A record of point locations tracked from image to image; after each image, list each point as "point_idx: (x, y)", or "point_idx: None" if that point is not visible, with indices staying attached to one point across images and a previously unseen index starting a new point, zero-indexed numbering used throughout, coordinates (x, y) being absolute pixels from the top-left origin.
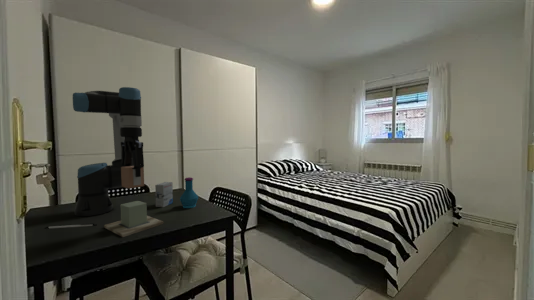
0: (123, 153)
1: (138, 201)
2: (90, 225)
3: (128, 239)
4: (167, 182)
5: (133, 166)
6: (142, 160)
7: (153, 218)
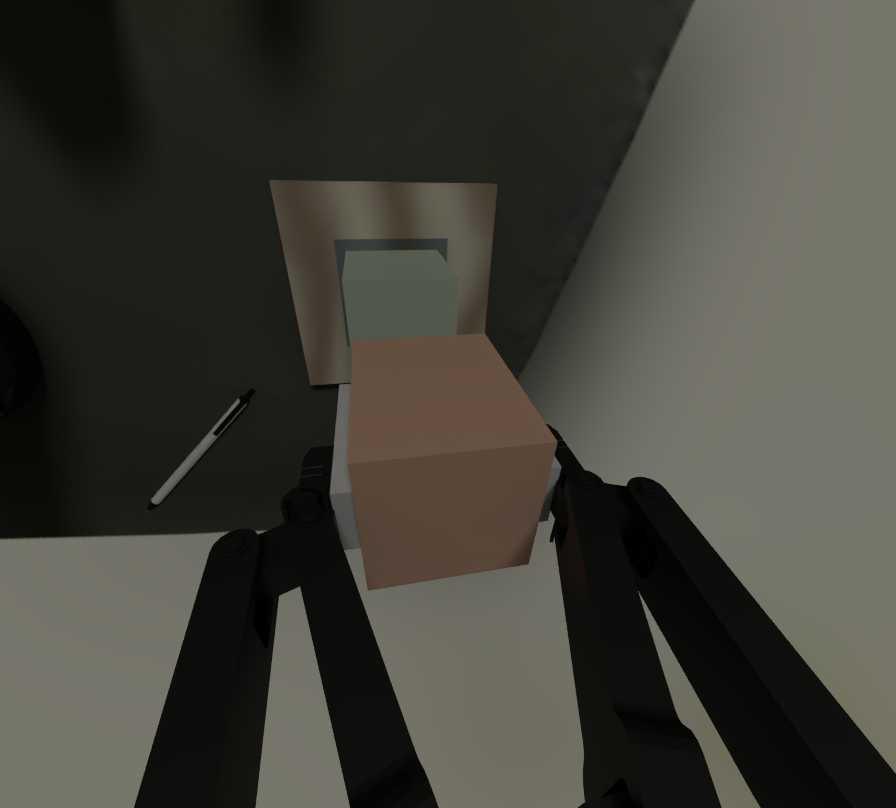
0: (252, 798)
1: (368, 289)
2: (242, 408)
3: (513, 362)
4: None
5: (436, 510)
6: (702, 554)
7: (404, 189)
